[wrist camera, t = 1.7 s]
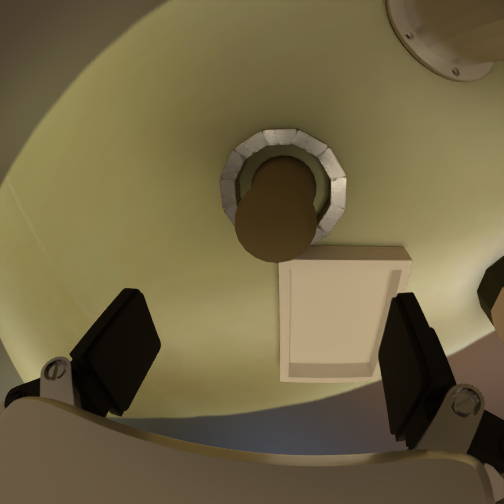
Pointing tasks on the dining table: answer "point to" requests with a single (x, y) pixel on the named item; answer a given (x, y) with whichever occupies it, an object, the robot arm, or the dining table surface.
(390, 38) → the dining table surface
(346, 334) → the white rectangular tray
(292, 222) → the cork
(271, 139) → the stone ring
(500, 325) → the wine bottle
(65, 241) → the dining table surface
